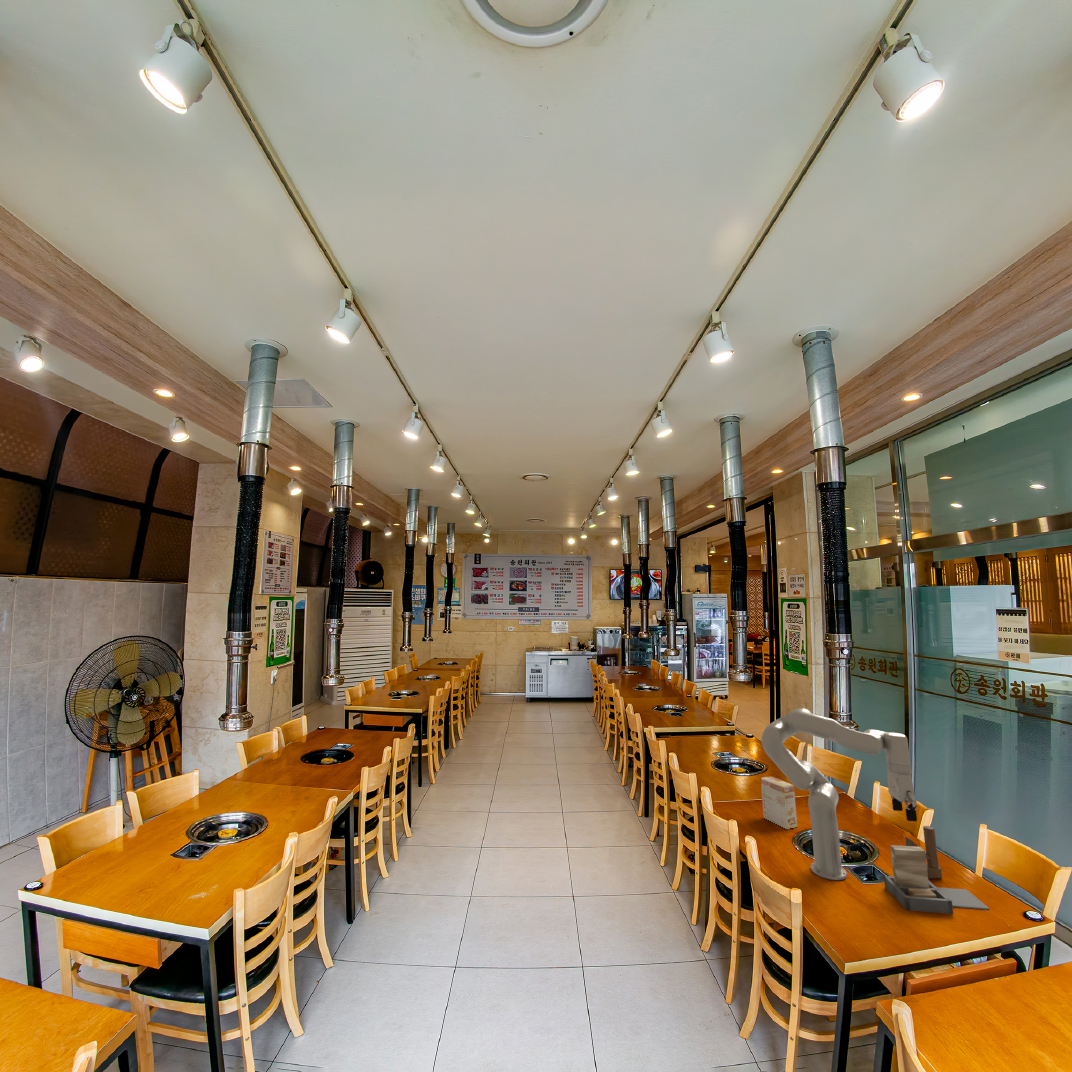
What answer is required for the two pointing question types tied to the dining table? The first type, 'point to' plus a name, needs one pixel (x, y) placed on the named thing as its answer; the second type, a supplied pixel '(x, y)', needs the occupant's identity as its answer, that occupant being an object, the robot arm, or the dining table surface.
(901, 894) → the tray
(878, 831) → the dining table surface
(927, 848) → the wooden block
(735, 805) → the dining table surface
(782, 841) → the dining table surface
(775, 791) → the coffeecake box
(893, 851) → the plywood sheet
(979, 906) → the mat
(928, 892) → the offcut upper
